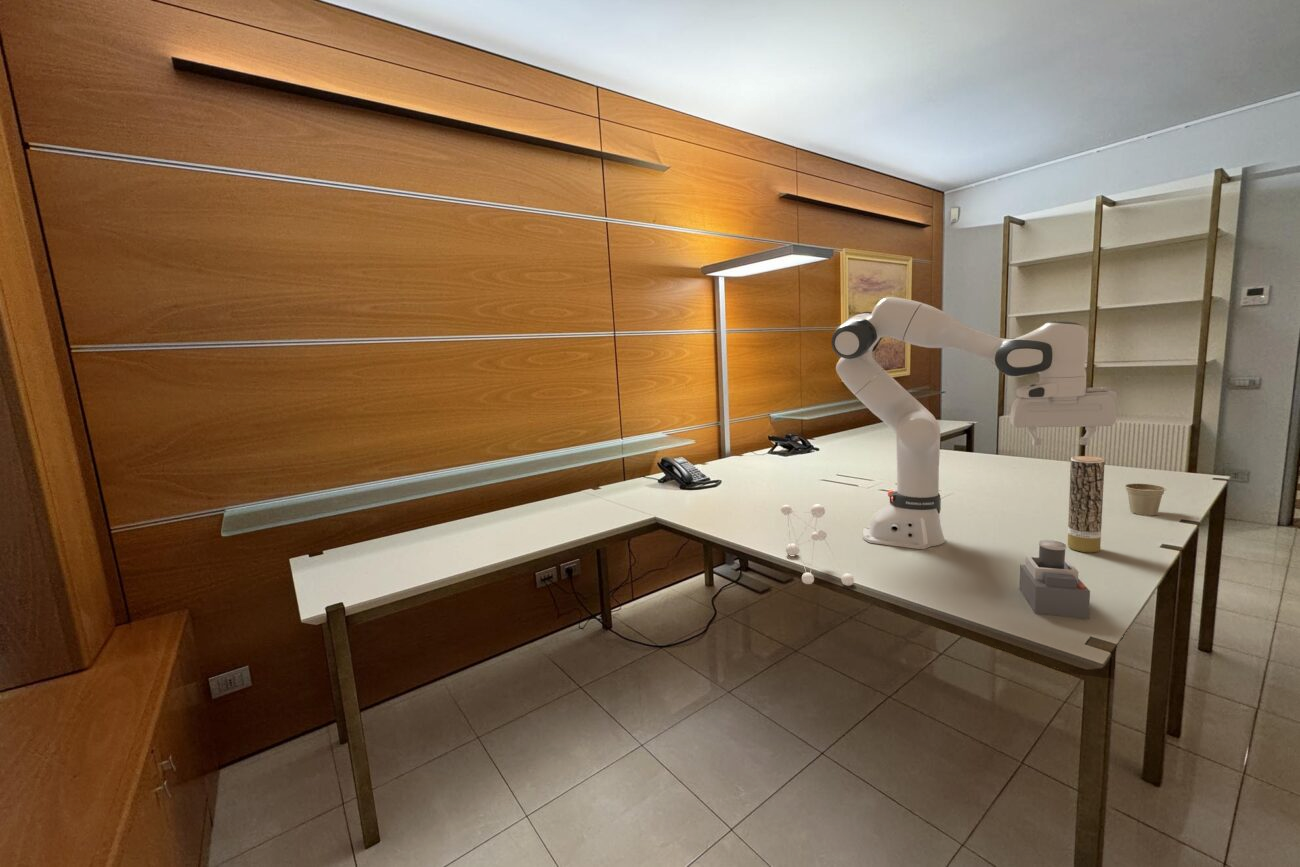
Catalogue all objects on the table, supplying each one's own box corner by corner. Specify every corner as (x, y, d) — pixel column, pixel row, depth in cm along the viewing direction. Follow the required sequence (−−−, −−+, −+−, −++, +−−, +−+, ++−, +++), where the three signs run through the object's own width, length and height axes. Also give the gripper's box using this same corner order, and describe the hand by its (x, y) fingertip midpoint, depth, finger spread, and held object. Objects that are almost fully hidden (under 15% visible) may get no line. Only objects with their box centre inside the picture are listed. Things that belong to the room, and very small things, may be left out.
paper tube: (1106, 553, 133) (1111, 460, 130) (1076, 553, 135) (1080, 461, 131) (1089, 544, 140) (1094, 455, 137) (1061, 544, 141) (1065, 456, 138)
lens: (1032, 571, 113) (1033, 541, 112) (1050, 568, 113) (1051, 539, 112) (1051, 579, 108) (1053, 548, 107) (1070, 577, 109) (1071, 546, 108)
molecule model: (811, 557, 150) (826, 499, 147) (851, 598, 125) (870, 529, 123) (766, 549, 148) (780, 491, 145) (798, 589, 124) (816, 520, 121)
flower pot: (1137, 518, 157) (1139, 490, 156) (1115, 509, 166) (1117, 483, 165) (1173, 517, 156) (1174, 490, 155) (1148, 508, 165) (1150, 482, 164)
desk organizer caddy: (1088, 618, 103) (1090, 579, 102) (1035, 613, 107) (1036, 575, 106) (1067, 593, 114) (1068, 557, 113) (1019, 589, 118) (1020, 554, 116)
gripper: (1111, 385, 121) (1108, 442, 123) (1009, 389, 129) (1007, 443, 131) (1123, 387, 116) (1120, 446, 117) (1015, 391, 124) (1014, 447, 125)
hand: (1060, 444), depth 124 cm, fingers open, 8 cm apart
